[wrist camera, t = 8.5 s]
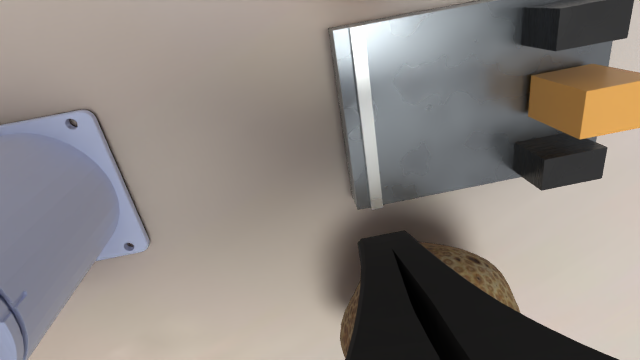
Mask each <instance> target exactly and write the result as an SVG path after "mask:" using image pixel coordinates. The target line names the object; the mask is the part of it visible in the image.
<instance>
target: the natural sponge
mask: <svg viewBox="0 0 640 360" xmlns="http://www.w3.org/2000/svg"><path fill="white" fill-rule="evenodd" d="M419 243H420V244H421V245H423V246H424V247H425V248H426V249H427V250H429V251H430V252H431V253H432V254H434V255H435V256H436V257H437V258H439V259H440V260H441V261H442V262H444V263H445V264H446V265H448V266H449V267H450V268H452V269H453V270H454V271H456V272H457V273H458V274H460V275H461V276H462V277H464V278H465V279H467V280H468V281H469V282H471V283H472V284H474V285H475V286H477V287H478V288H480V289H481V290H483V291H484V292H486V293H487V294H489V295H490V296H492V297H493V298H495V299H496V300H498V301H500V302H501V303H503V304H505V305H507V306H508V307H510V308H512V309H514V310H516V311H517V312H519V313H520V311H519V308H518V305H517V303H516V301H515V299H514V296H513V294H512V292H511V289H510V287H509V285H508V283H507V281H506V280H505V278H504V276H503V275H502V273H501V272H500V271H499V270H498V269H497V268H496V267H495V266H494V265H493V264H491V263H490V262H489V261H488V260H486V259H484V258H482V257H480V256H478V255H475V254H473V253H470V252H468V251H465V250H462V249H459V248H455V247H450V246H446V245H440V244H433V243H424V242H419ZM360 282H361V280H360ZM360 282H359V284H358V286H357V288H356V290H355V293H354V295H353V296H352V298H351V300H350V302H349V305H348V306H347V308H346V310H345V313H344V316H343V319H342V323H341V333H340V341H341V347H342V350H343V354H344V356H345V358H346V355H347V352H348V348H349V345H350V341H351V337H352V332H353V328H354V323H355V318H356V313H357V306H358V300H359V293H360Z"/></svg>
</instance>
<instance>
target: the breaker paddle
mask: <svg viewBox="0 0 640 360" xmlns="http://www.w3.org/2000/svg"><path fill="white" fill-rule="evenodd" d="M528 117H530V118H533V119H535V120H537V121H539V122H542V123H544V124H546V125H548V126H550V127H553V128H555V129H557V130H559V131H562V132H564V133H566V134H568V135H571V136H573V137H575V138H577V139H579V140H580V139H585V138H590V137H595V136H600V135H605V134H610V133H615V132H620V131H626V130H631V129H636V128H640V73H638V72H633V71H628V70H623V69H618V68H613V67H607V66H602V65H597V64H588V65H583V66H578V67H572V68H567V69H562V70H557V71H552V72H546V73H541V74H536V75H531V84H530V97H529V110H528Z"/></svg>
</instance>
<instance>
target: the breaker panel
mask: <svg viewBox="0 0 640 360" xmlns="http://www.w3.org/2000/svg"><path fill="white" fill-rule="evenodd" d="M633 3H634V0H479V1H473V2H468V3H463V4H457V5H452V6H446V7H441V8H436V9H430V10H425V11H419V12H414V13H409V14H403V15H398V16H392V17H387V18H382V19H376V20H371V21H365V22H360V23H355V24H349V25H344V26H338V27H333V28H328V30H329V37H330V44H331V51H332V58H333V65H334V72H335V79H336V86H337V93H338V100H339V107H340V114H341V121H342V128H343V135H344V142H345V148H346V155H347V162H348V169H349V176H350V183H351V190H352V197H353V199H354V202H355V204H356V207H357V209H358V210H359V209H364V208H369V207H371V209H372V210H374V209H379V208H383V205H384V204H389V203H394V202H399V201H404V200H409V199H414V198H419V197H424V196H429V195H434V194H439V193H443V192H448V191H453V190H458V189H463V188H468V187H473V186H478V185H483V184H488V183H493V182H498V181H503V180H508V179H513V178H518V177H523V178H524V179H526V180H527V181H529V182H530V183H531V184H533V185H534V186H536V187H537V188H539V189H540V190H546V189H551V188H556V187H561V186H566V185H571V184H576V183H581V182H586V181H591V180H596V179H601V178H602V175H603V169H604V163H605V158H606V152H607V147H605V146H603V145H601V144H599V143H596V138H597V136H595V137H590V138H585V139H580V140H579V139H577V138H575V137H573V136H571V135H568V134H566V133H564V132H562V131H559V130H557V129H555V128H553V127H550V126H548V125H546V124H544V123H542V122H539V121H537V120H535V119H533V118H530V117H528V110H529V97H530V84H531V75H536V74H541V73H546V72H552V71H557V70H562V69H567V68H572V67H578V66H583V65H588V64H597V65H602V66H607V67H608V65H609V59H610V53H611V47H612V41H613V40H619V39H624V38H627V36H628V31H629V25H630V20H631V14H632V8H633Z"/></svg>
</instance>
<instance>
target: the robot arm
mask: <svg viewBox="0 0 640 360" xmlns="http://www.w3.org/2000/svg"><path fill="white" fill-rule="evenodd" d="M69 119H73V120H75V121H76V122H77V124H78V126H77V127H74V126H72V125H71V124H70V122H69ZM126 243H131V244H133V245H134V246H133V247H130V246H128V245H127V244H126ZM149 243H150V241H149V238H148V236H147V233H146V231H145V229H144V227H143V224H142V222H141V220H140V217H139V215H138V213H137V211H136V208H135V206H134V204H133V201H132V199H131V197H130V194H129V192H128V190H127V188H126V185H125V183H124V181H123V178H122V176H121V174H120V171H119V169H118V167H117V165H116V162H115V160H114V158H113V155H112V153H111V151H110V149H109V146H108V144H107V142H106V139H105V137H104V135H103V132H102V130H101V128H100V126H99V123H98V121H97V119H96V117H95V115H94V114H93V113H91V112H90V111H88V110H77V111H72V112H66V113H61V114H56V115H50V116H45V117H40V118H34V119H29V120H24V121H18V122H13V123H8V124H2V125H0V360H28V358H29V357H30V355H31V354H32V352H33V351H34V349H35V348H36V346H37V345H38V344H39V342H40V341H41V339H42V338H43V336H44V335H45V333H46V332H47V330H48V329H49V328H50V326H51V325H52V323H53V322H54V320H55V319H56V317H57V316H58V314H59V313H60V311H61V310H62V309H63V307H64V306H65V304H66V303H67V301H68V300H69V298H70V297H71V295H72V294H73V292H74V291H75V290H76V288H77V287H78V285H79V284H80V282H81V281H82V279H83V278H84V276H85V275H86V273H87V272H88V271H89V269H90V268H91V266H92V265H93V263H94V262H95V261H99V260H104V259H109V258H114V257H119V256H124V255H129V254H134V253H139V252H143V251H145V250H146V249H147V248H148V246H149ZM358 248H359V255H360V262H361V282H360V293H359V300H358V306H357V313H356V318H355V323H354V328H353V332H352V337H351V341H350V345H349V348H348V352H347V355H346V359H345V360H618V359H616V358H614V357H611V356H609V355H606V354H604V353H601V352H599V351H597V350H595V349H592V348H590V347H588V346H585V345H583V344H581V343H579V342H576V341H574V340H572V339H570V338H568V337H566V336H564V335H562V334H560V333H558V332H556V331H553V330H551V329H549V328H547V327H545V326H543V325H541V324H539V323H537V322H536V321H534V320H532V319H530V318H528V317H526V316H524V315H523V314H521V313H519V312H517V311H516V310H514V309H512V308H510V307H508V306H507V305H505V304H503V303H501V302H500V301H498V300H496V299H495V298H493V297H492V296H490V295H489V294H487V293H486V292H484V291H483V290H481V289H480V288H478V287H477V286H475V285H474V284H472V283H471V282H469V281H468V280H467V279H465V278H464V277H462V276H461V275H460V274H458V273H457V272H456V271H454V270H453V269H452V268H450V267H449V266H448V265H446V264H445V263H444V262H442V261H441V260H440V259H439V258H437V257H436V256H435V255H434V254H432V253H431V252H430V251H429V250H427V249H426V248H425V247H424V246H423V245H421V244H420V243H419V242H418V241H417V240H416V239H414V238H413V237H412V236H411V235H410V234H409V233H407V232H406V231H400V232H395V233H389V234H384V235H379V236H374V237H369V238H363V239H361V240H360V241H359V242H358Z"/></svg>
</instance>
